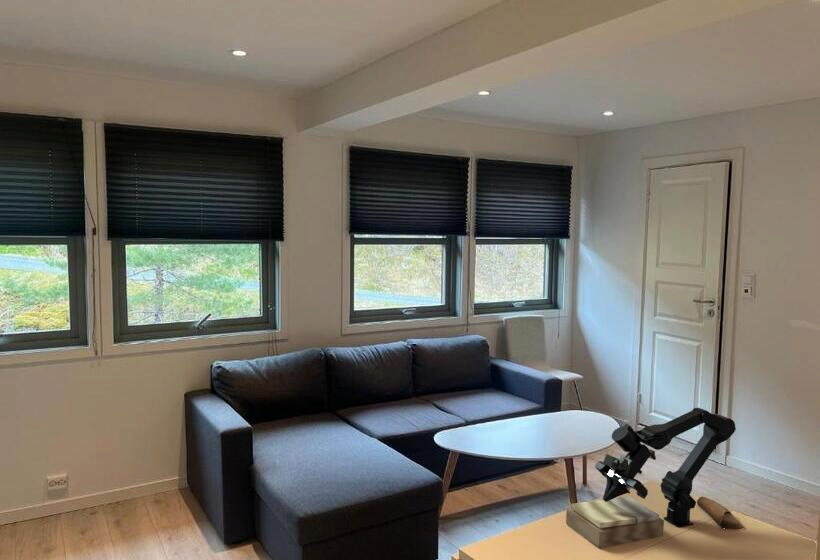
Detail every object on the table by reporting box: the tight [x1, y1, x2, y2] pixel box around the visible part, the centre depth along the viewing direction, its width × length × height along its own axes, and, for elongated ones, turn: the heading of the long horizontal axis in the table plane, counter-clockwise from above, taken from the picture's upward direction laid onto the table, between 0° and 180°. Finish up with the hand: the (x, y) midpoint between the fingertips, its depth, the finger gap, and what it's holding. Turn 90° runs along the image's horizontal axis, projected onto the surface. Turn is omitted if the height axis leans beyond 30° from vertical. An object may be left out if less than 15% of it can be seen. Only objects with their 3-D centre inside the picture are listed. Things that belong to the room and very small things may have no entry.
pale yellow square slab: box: [570, 499, 636, 528], centre depth 183 cm, size 13×14×2 cm
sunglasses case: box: [696, 496, 745, 530], centre depth 196 cm, size 18×7×7 cm, turn 177°
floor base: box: [565, 496, 665, 550], centre depth 185 cm, size 24×16×6 cm, turn 111°
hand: (604, 500), depth 183 cm, fingers closed
